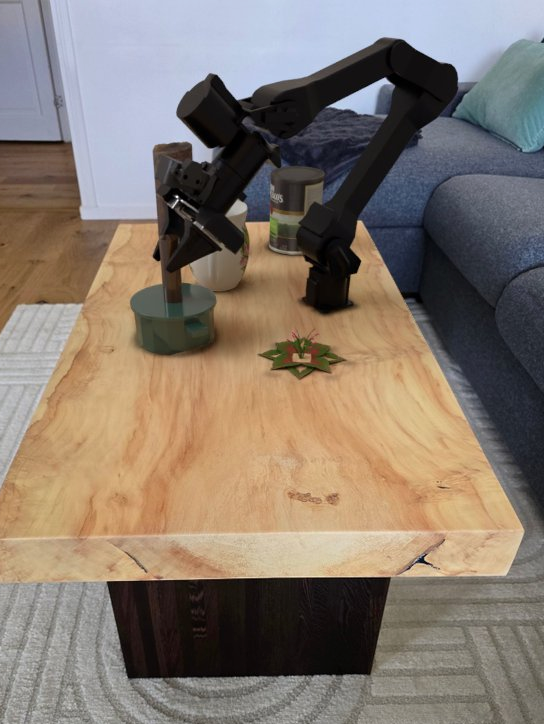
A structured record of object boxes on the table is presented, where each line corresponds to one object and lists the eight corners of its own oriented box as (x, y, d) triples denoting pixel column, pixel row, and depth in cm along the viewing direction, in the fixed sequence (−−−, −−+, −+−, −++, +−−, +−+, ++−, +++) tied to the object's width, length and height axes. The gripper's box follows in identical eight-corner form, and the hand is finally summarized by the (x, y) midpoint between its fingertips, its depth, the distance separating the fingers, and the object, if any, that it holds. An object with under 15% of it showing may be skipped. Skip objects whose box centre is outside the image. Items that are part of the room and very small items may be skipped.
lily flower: (242, 357, 91) (242, 328, 88) (304, 334, 97) (306, 306, 94) (297, 392, 83) (299, 361, 80) (361, 364, 89) (365, 335, 86)
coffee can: (276, 257, 123) (279, 180, 115) (262, 240, 131) (263, 167, 123) (327, 252, 125) (332, 177, 117) (310, 236, 133) (314, 164, 125)
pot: (185, 308, 104) (183, 276, 101) (237, 350, 93) (236, 315, 89) (119, 324, 100) (114, 291, 96) (164, 370, 88) (161, 334, 85)
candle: (195, 261, 122) (190, 148, 110) (157, 261, 122) (148, 148, 110) (198, 247, 128) (193, 139, 116) (162, 247, 128) (153, 139, 116)
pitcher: (180, 306, 105) (175, 222, 97) (193, 266, 119) (189, 190, 111) (246, 307, 104) (246, 223, 96) (251, 267, 119) (251, 191, 110)
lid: (225, 293, 97) (224, 226, 91) (203, 329, 87) (200, 256, 81) (147, 286, 99) (141, 220, 93) (117, 321, 89) (108, 249, 83)
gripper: (163, 118, 87) (97, 211, 90) (220, 143, 74) (140, 252, 77) (217, 172, 95) (154, 257, 98) (277, 204, 81) (202, 301, 84)
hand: (161, 265), depth 89 cm, fingers open, 5 cm apart
